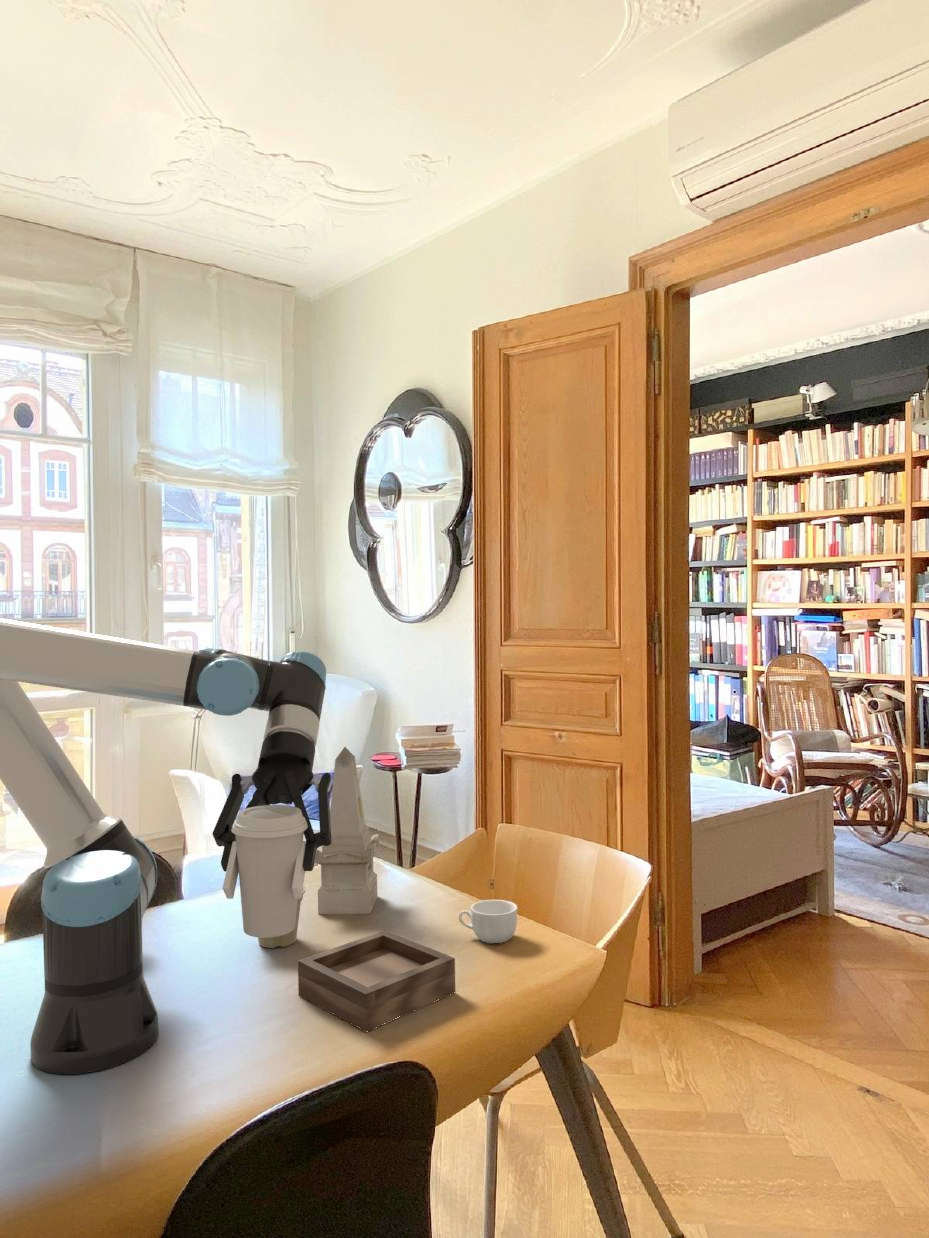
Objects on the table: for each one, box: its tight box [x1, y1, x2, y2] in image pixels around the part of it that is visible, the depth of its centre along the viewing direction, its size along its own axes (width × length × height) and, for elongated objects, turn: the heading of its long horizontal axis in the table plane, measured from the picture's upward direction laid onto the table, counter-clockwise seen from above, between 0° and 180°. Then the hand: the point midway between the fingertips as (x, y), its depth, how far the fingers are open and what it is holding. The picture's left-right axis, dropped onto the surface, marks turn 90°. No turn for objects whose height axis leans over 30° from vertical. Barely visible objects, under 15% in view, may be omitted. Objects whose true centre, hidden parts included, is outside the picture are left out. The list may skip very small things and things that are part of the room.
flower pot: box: [257, 885, 306, 949], centre depth 144 cm, size 9×9×9 cm
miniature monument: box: [314, 746, 380, 915], centre depth 162 cm, size 10×10×30 cm
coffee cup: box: [231, 804, 308, 938], centre depth 110 cm, size 10×10×15 cm
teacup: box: [458, 899, 518, 944], centre depth 143 cm, size 10×8×5 cm
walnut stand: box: [297, 929, 456, 1032], centre depth 123 cm, size 16×16×5 cm
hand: (262, 893), depth 107 cm, fingers closed on coffee cup, 8 cm apart
